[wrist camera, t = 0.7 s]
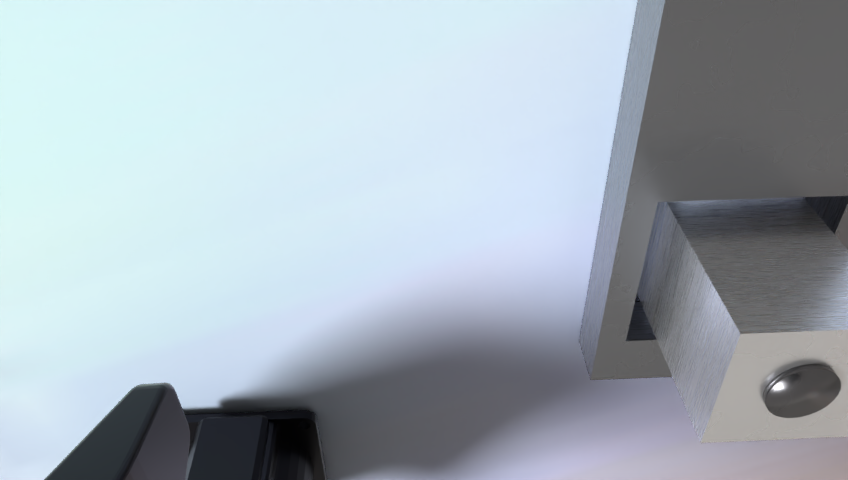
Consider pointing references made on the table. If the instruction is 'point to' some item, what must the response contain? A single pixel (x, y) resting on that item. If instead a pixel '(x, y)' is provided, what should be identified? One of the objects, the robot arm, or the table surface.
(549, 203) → the table surface
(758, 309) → the grey rectangular block
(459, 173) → the table surface
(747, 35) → the rail
